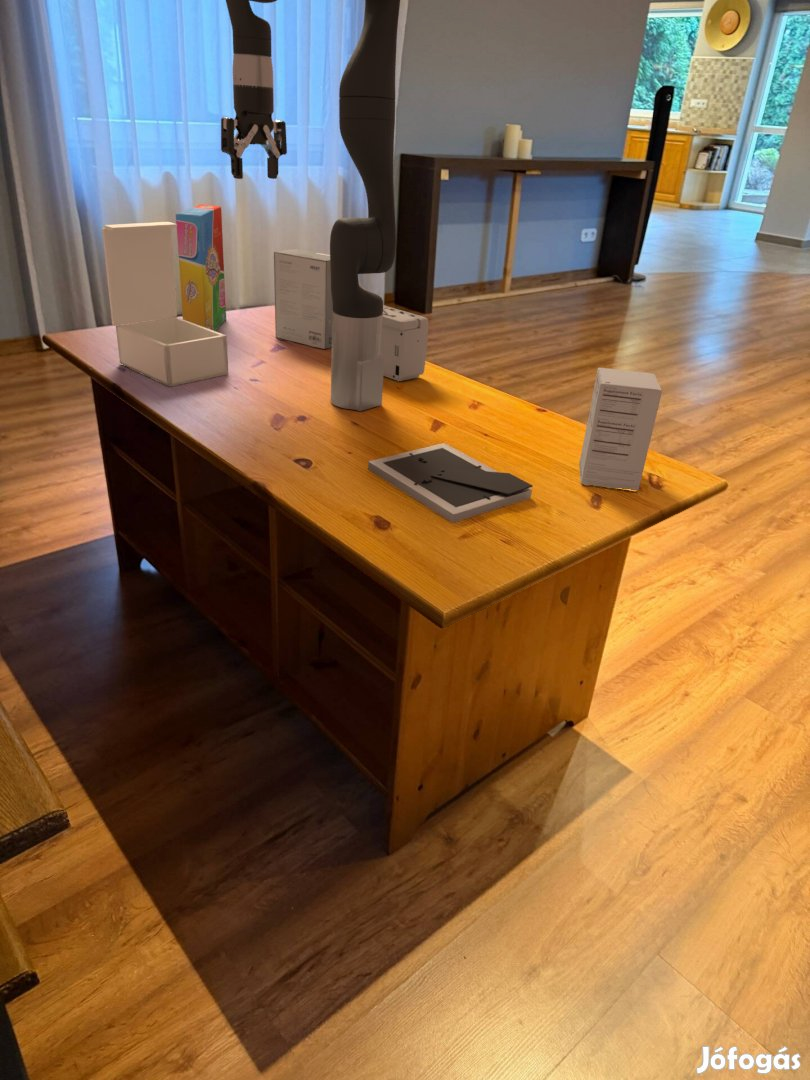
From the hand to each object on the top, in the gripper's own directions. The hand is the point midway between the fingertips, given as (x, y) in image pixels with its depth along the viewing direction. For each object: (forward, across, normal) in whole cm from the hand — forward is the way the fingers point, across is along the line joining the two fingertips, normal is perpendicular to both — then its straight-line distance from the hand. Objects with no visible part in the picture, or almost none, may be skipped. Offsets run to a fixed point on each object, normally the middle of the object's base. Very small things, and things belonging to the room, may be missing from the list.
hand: (255, 178), depth 152 cm
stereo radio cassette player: (+36, +16, -22) cm, 45 cm away
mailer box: (+36, -20, +3) cm, 41 cm away
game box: (+36, +4, +26) cm, 45 cm away
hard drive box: (+36, +18, +4) cm, 41 cm away
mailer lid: (+19, -20, +9) cm, 29 cm away
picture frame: (+37, -18, -69) cm, 81 cm away
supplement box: (+36, +4, -85) cm, 93 cm away
